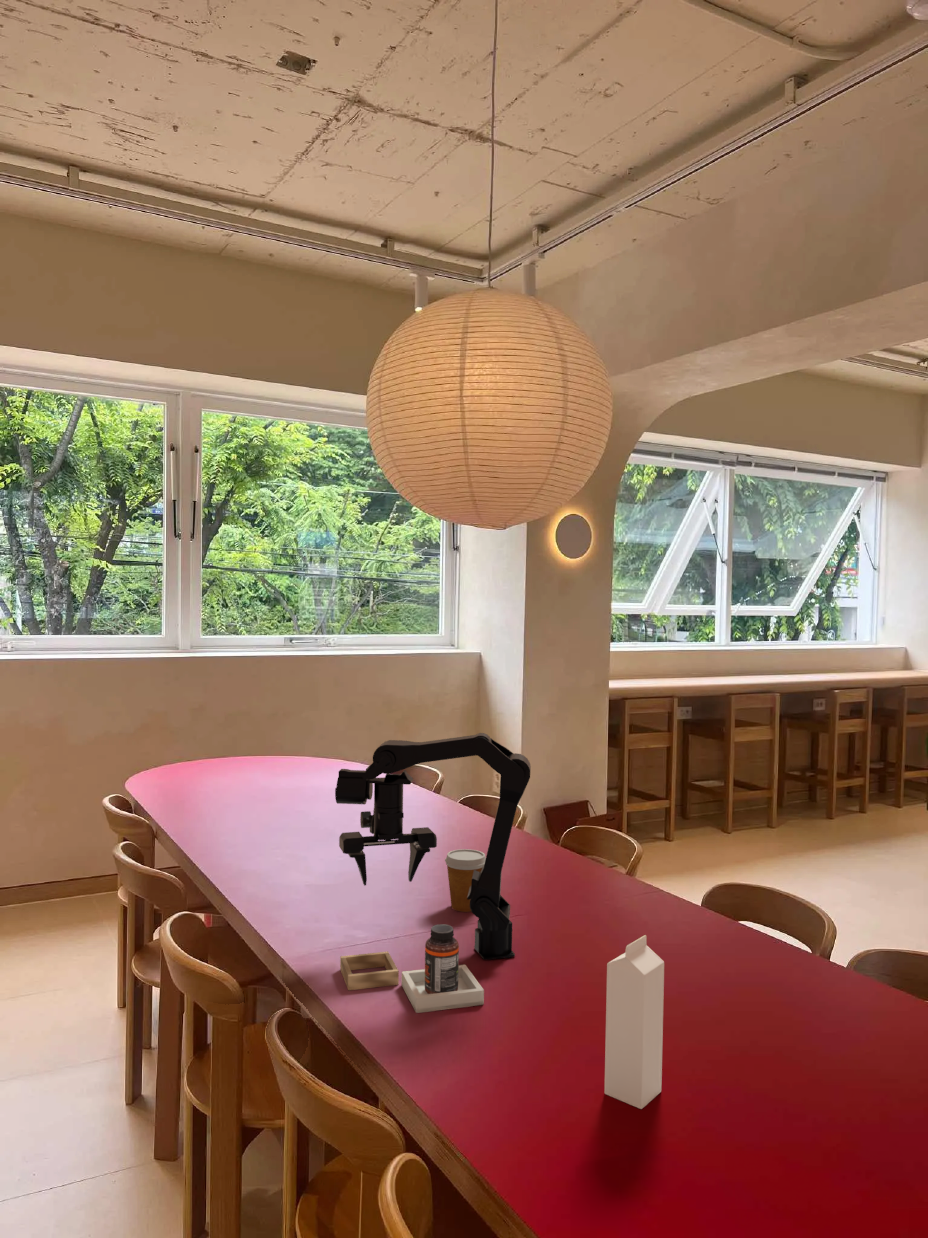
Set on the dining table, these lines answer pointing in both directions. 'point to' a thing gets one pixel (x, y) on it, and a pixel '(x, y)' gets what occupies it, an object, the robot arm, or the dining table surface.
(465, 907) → the disposable coffee cup
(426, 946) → the supplement bottle
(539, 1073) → the dining table surface
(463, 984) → the tray
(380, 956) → the collar
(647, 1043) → the milk
